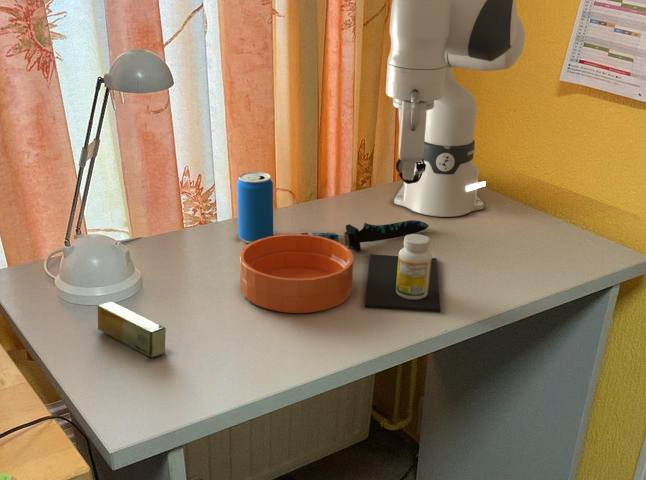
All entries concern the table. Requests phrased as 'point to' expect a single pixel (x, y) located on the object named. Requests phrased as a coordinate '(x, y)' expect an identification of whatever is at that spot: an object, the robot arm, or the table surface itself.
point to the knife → (373, 233)
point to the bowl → (296, 273)
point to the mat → (384, 287)
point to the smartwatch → (419, 169)
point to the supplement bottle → (414, 267)
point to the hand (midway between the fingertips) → (407, 172)
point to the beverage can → (255, 206)
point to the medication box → (132, 329)
